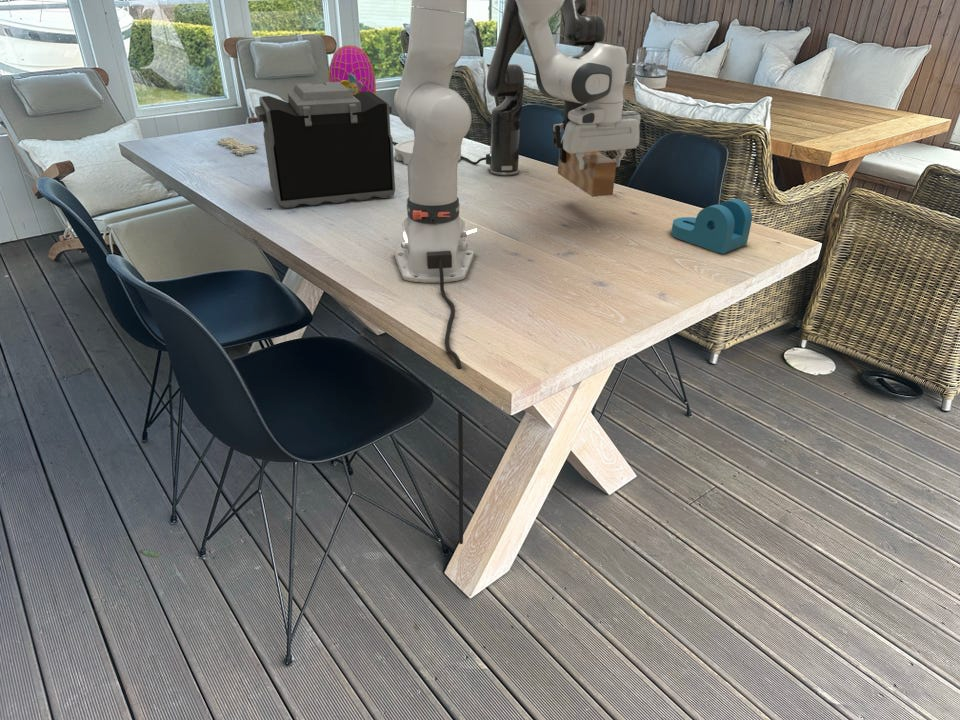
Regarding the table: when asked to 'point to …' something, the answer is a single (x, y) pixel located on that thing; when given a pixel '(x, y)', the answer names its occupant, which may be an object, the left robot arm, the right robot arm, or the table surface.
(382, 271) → the table surface
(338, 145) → the electronic device
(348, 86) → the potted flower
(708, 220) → the camera mount
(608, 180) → the box
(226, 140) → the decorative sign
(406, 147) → the ashtray
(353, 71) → the decorative egg
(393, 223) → the table surface
